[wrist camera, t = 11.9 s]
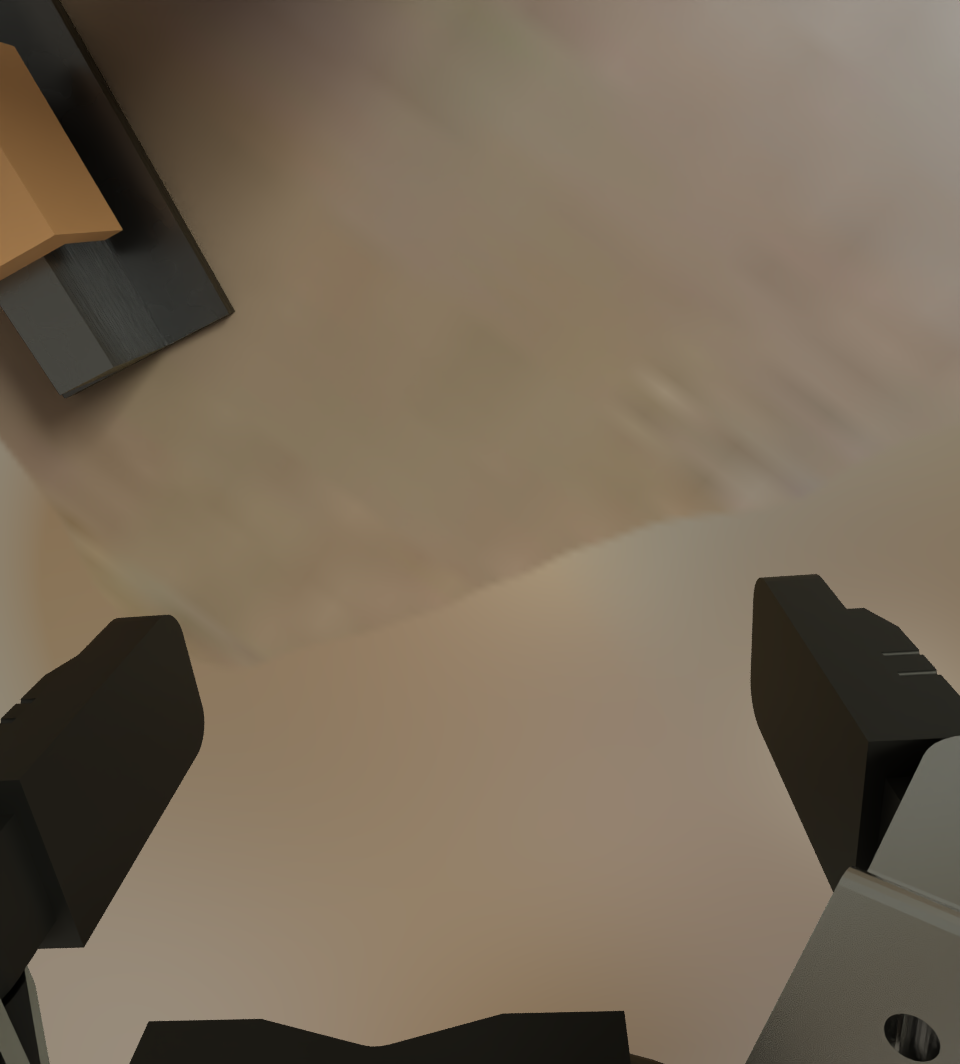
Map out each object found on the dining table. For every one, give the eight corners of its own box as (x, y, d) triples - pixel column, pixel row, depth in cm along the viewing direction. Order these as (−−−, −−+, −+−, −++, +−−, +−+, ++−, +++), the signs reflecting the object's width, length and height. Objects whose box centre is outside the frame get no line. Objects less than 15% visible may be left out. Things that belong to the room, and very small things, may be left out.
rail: (-161, 38, 32) (-302, 5, 27) (13, -81, 31) (-99, -143, 25) (73, 394, 38) (-4, 428, 32) (235, 311, 36) (182, 331, 30)
